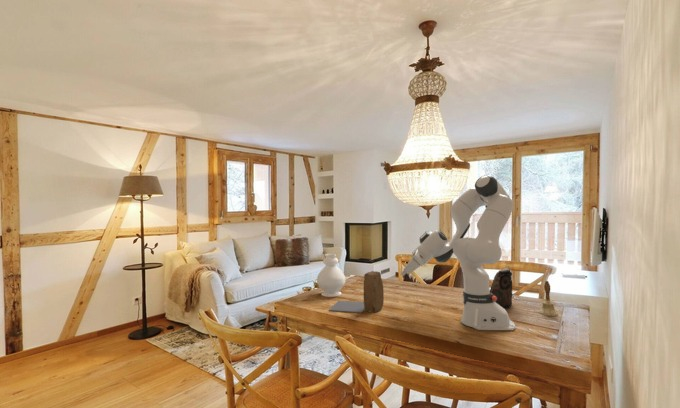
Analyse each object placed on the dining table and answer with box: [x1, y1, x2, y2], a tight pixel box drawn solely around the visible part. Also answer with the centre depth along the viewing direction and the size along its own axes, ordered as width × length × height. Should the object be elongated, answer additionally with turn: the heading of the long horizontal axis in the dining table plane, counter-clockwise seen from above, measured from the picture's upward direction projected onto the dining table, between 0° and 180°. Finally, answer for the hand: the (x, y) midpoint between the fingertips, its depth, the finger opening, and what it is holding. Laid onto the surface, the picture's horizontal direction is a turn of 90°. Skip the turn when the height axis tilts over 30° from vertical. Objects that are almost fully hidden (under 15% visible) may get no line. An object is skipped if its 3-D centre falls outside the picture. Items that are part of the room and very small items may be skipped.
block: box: [363, 270, 385, 313], centre depth 181 cm, size 11×8×20 cm
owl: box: [490, 266, 513, 310], centre depth 183 cm, size 13×13×20 cm
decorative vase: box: [316, 253, 346, 298], centre depth 215 cm, size 18×18×25 cm
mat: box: [328, 300, 366, 314], centre depth 187 cm, size 18×18×1 cm
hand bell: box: [538, 280, 559, 317], centre depth 169 cm, size 8×8×16 cm
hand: (401, 274), depth 178 cm, fingers closed
